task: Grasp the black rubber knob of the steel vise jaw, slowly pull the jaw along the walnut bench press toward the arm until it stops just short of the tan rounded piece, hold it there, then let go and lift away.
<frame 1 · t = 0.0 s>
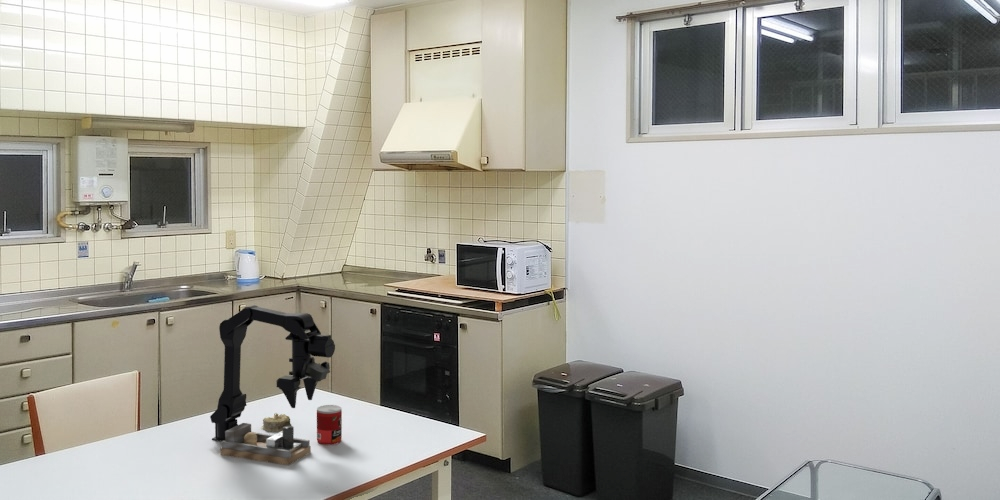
hand: (301, 403, 247), 15 cm above the table, fingers open, 9 cm apart
tan rounded piece: (250, 444, 246), point 2 cm above the table, touching press base
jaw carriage: (283, 438, 242), point 6 cm above the table, slide at 0.0 cm
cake: (276, 428, 270), on the table
press base: (265, 453, 245), on the table
canned food: (329, 442, 257), on the table
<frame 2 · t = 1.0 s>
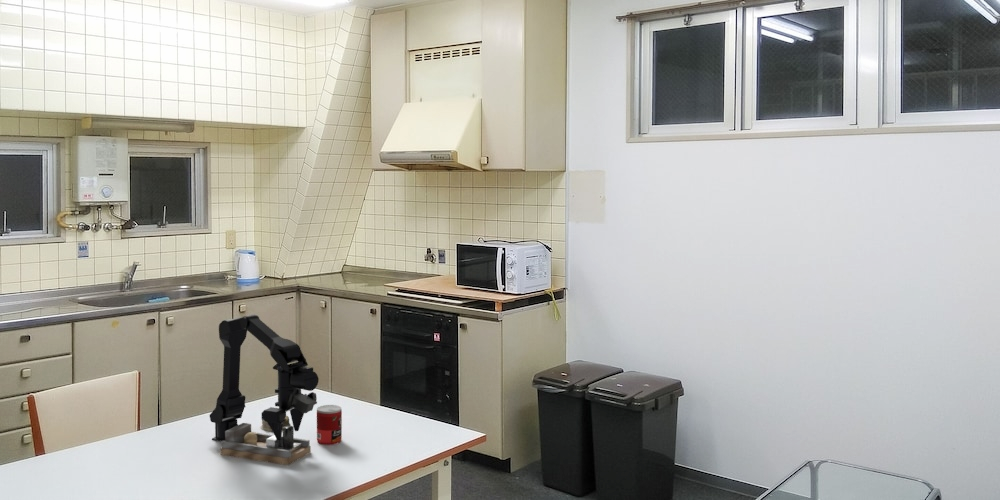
hand: (287, 435, 242), 7 cm above the table, fingers open, 9 cm apart
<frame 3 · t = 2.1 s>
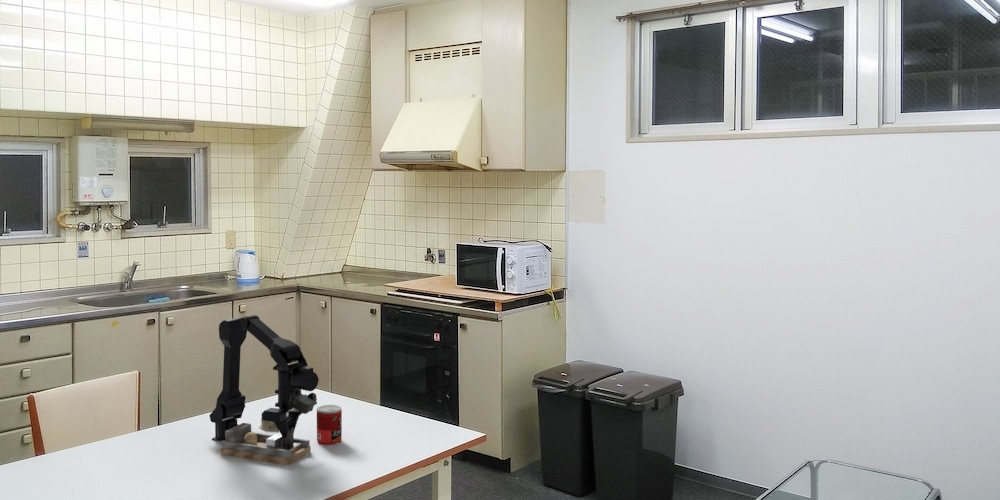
hand: (288, 436, 242), 7 cm above the table, fingers closed on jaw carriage, 3 cm apart
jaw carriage: (283, 438, 242), point 6 cm above the table, slide at 0.0 cm, touching gripper
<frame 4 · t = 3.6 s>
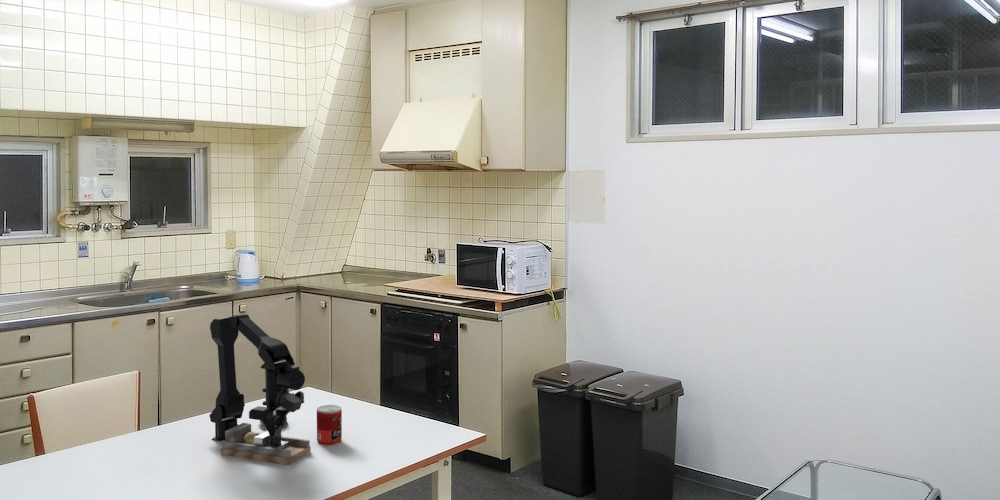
hand: (275, 434, 243), 6 cm above the table, fingers closed on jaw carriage, 3 cm apart
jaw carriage: (271, 436, 244), point 6 cm above the table, slide at 4.4 cm, touching gripper
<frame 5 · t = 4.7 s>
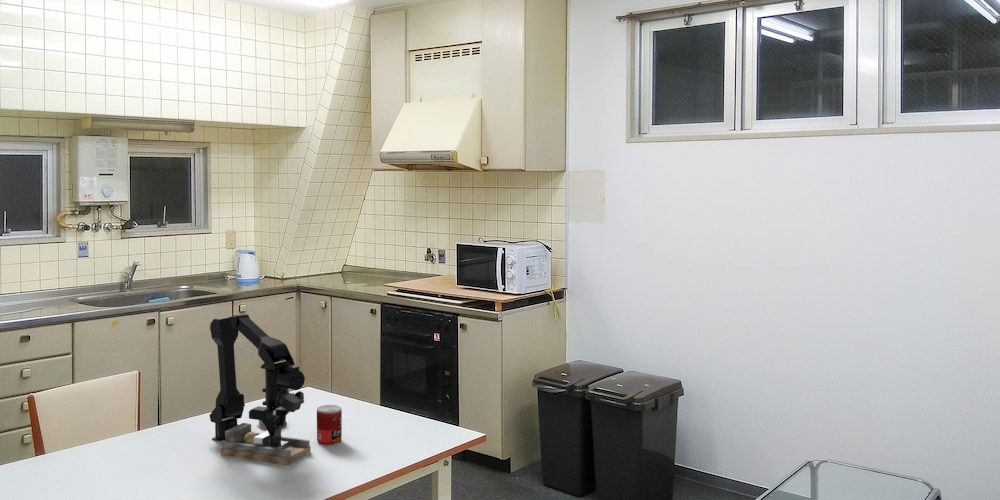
hand: (275, 434, 243), 6 cm above the table, fingers closed on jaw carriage, 3 cm apart
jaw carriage: (271, 436, 244), point 6 cm above the table, slide at 4.4 cm, touching gripper
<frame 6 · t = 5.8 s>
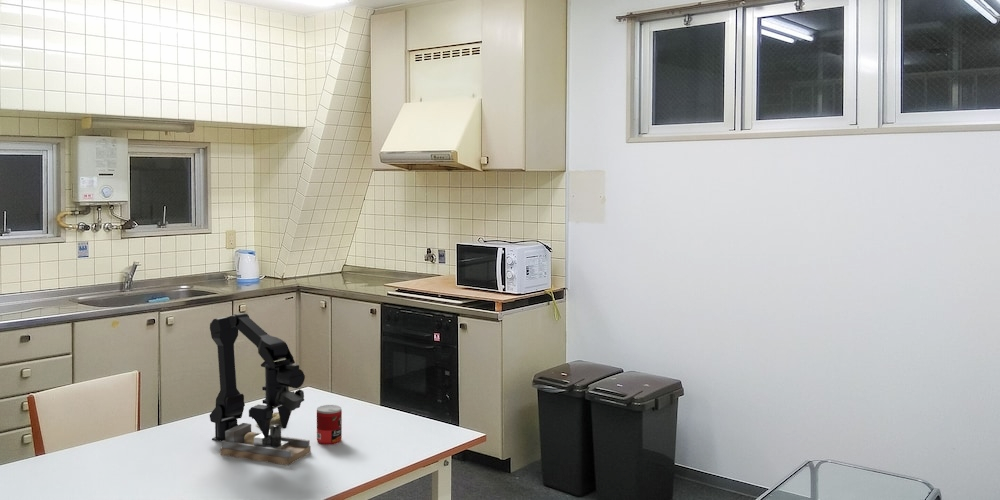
hand: (275, 432, 243), 7 cm above the table, fingers open, 9 cm apart
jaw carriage: (271, 436, 244), point 6 cm above the table, slide at 4.4 cm
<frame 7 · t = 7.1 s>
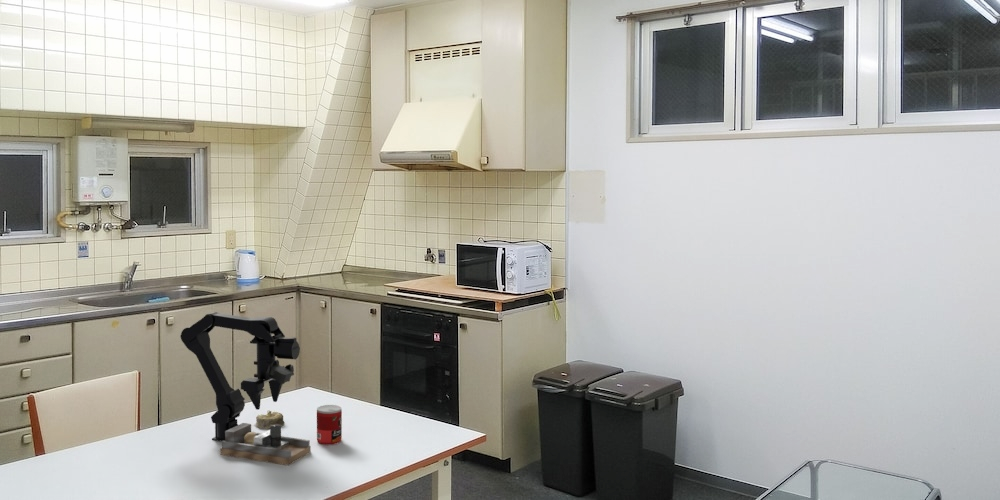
hand: (266, 405, 254), 12 cm above the table, fingers open, 9 cm apart
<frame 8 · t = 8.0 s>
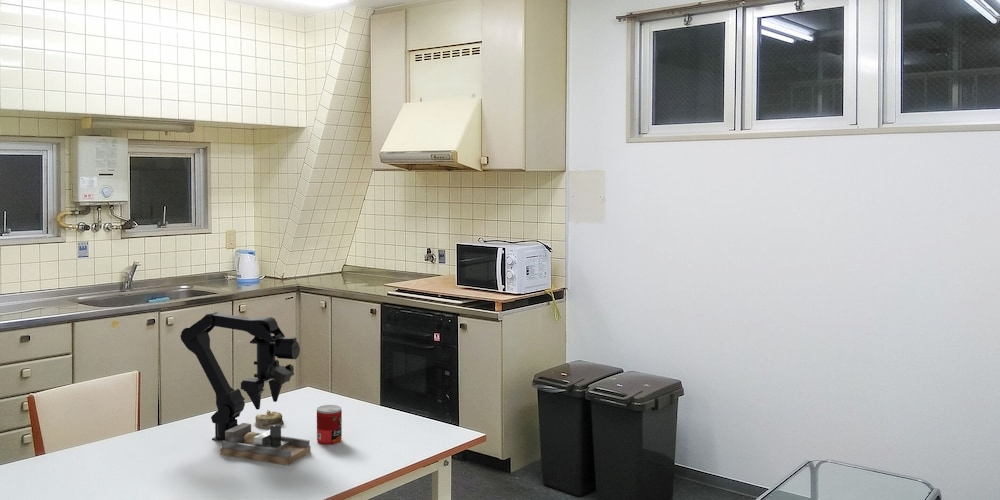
hand: (266, 405, 254), 12 cm above the table, fingers open, 9 cm apart
at the end: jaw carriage slide at 4.4 cm; tan rounded piece moved 0.0 cm from its start; the gripper is holding nothing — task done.
